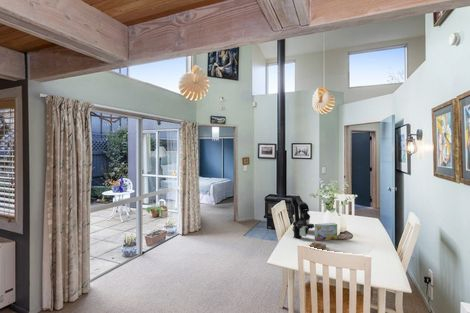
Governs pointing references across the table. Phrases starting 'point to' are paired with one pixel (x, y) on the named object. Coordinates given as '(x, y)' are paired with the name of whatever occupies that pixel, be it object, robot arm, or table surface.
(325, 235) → the snack box
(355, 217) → the table surface
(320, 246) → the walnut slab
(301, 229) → the sage box
